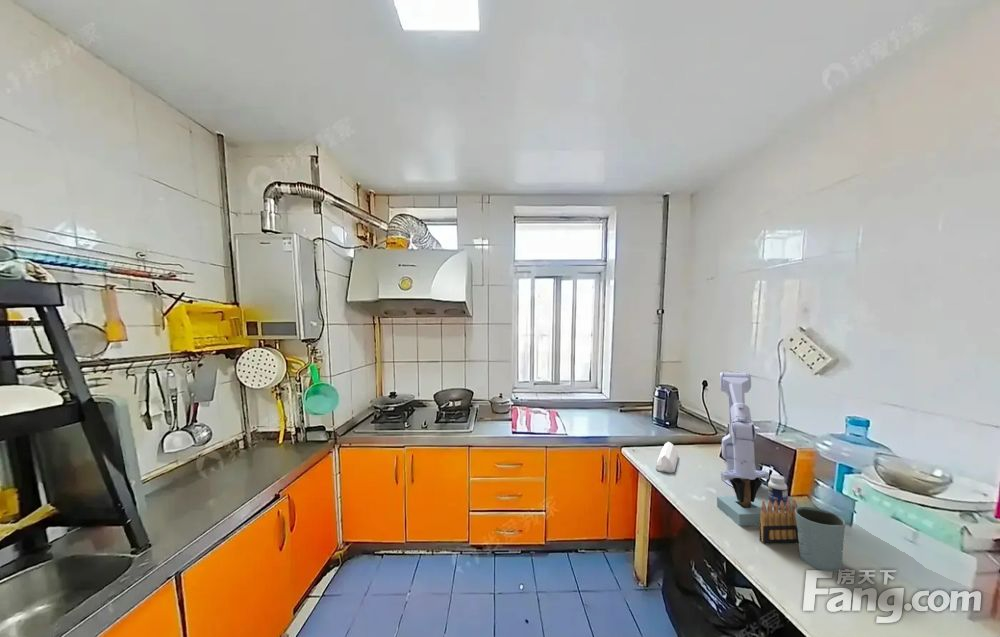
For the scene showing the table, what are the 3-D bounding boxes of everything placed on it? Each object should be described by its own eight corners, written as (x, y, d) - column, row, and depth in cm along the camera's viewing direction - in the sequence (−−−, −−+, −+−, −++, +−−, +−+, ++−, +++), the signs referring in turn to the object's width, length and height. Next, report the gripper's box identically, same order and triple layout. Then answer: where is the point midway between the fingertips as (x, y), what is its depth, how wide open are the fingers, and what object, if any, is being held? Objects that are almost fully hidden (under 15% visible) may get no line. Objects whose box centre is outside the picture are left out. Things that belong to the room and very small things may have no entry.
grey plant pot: (788, 556, 103) (786, 511, 103) (809, 545, 107) (807, 502, 107) (834, 578, 94) (832, 529, 94) (855, 566, 98) (853, 519, 98)
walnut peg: (747, 506, 126) (746, 477, 126) (753, 511, 123) (752, 481, 123) (738, 507, 126) (737, 478, 126) (744, 511, 123) (743, 482, 123)
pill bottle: (764, 503, 132) (763, 475, 132) (774, 500, 134) (773, 472, 134) (781, 510, 127) (780, 481, 127) (791, 506, 129) (790, 477, 129)
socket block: (751, 505, 130) (751, 495, 130) (777, 524, 118) (777, 513, 118) (717, 506, 130) (716, 496, 130) (739, 525, 118) (739, 514, 118)
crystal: (678, 466, 157) (682, 448, 178) (662, 455, 160) (667, 439, 181) (669, 480, 159) (674, 461, 180) (653, 469, 162) (659, 451, 183)
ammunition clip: (763, 544, 108) (762, 502, 109) (759, 540, 110) (757, 499, 110) (801, 543, 108) (800, 501, 108) (796, 539, 110) (795, 498, 110)
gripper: (729, 464, 120) (731, 507, 120) (774, 462, 120) (776, 505, 120) (716, 456, 127) (718, 497, 127) (759, 454, 128) (761, 495, 127)
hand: (745, 500), depth 124 cm, fingers closed on walnut peg, 3 cm apart
